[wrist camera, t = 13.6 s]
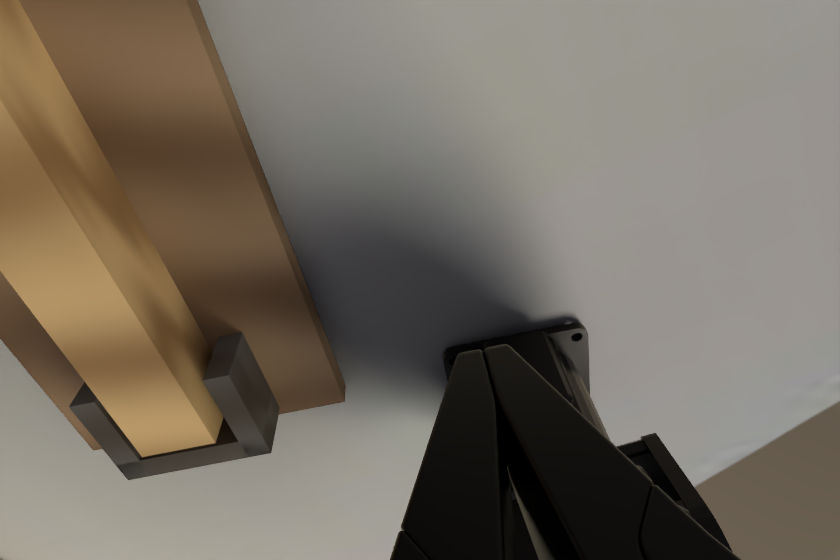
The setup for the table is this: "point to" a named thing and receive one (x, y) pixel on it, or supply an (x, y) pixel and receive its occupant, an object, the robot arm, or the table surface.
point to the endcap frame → (183, 226)
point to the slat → (92, 259)
